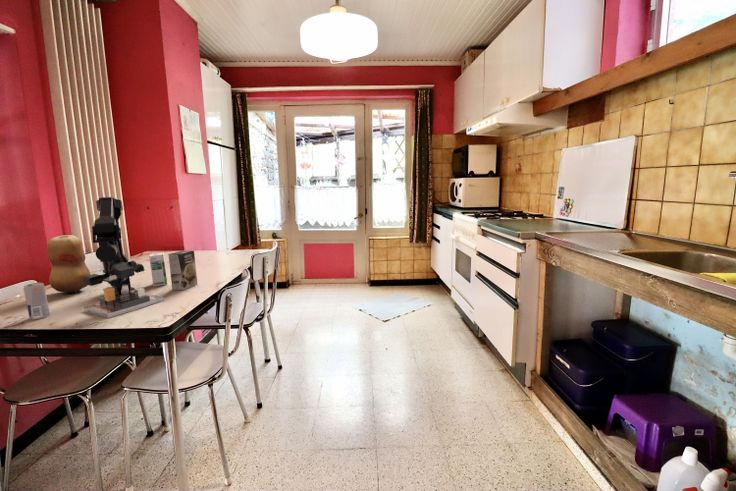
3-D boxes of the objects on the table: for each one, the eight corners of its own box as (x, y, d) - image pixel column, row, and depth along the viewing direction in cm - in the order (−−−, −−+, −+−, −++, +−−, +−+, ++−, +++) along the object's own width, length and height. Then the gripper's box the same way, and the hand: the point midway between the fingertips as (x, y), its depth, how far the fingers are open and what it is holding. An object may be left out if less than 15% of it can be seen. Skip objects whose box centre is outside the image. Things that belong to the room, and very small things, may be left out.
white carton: (38, 314, 127) (31, 282, 125) (54, 313, 128) (48, 282, 125) (25, 320, 122) (18, 287, 120) (41, 319, 122) (35, 286, 120)
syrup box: (153, 286, 159) (148, 255, 157) (153, 283, 164) (149, 253, 162) (167, 284, 162) (163, 254, 159) (167, 281, 167) (164, 252, 164)
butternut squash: (51, 299, 144) (40, 239, 139) (52, 292, 154) (41, 236, 149) (94, 292, 153) (84, 235, 148) (92, 285, 163) (83, 232, 158)
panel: (84, 311, 130) (81, 294, 129) (139, 295, 147) (137, 280, 146) (108, 318, 123) (105, 300, 121) (163, 300, 140) (161, 285, 139)
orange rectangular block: (104, 300, 130) (102, 288, 129) (112, 298, 132) (110, 286, 131) (108, 301, 128) (106, 289, 128) (115, 299, 131) (114, 287, 130)
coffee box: (184, 290, 153) (180, 254, 150) (171, 289, 154) (167, 254, 151) (198, 284, 162) (194, 250, 159) (186, 283, 163) (182, 249, 160)
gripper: (94, 264, 118) (104, 307, 121) (149, 251, 134) (156, 289, 137) (76, 261, 123) (87, 303, 126) (131, 249, 139) (139, 286, 142)
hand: (119, 295), depth 133 cm, fingers closed
